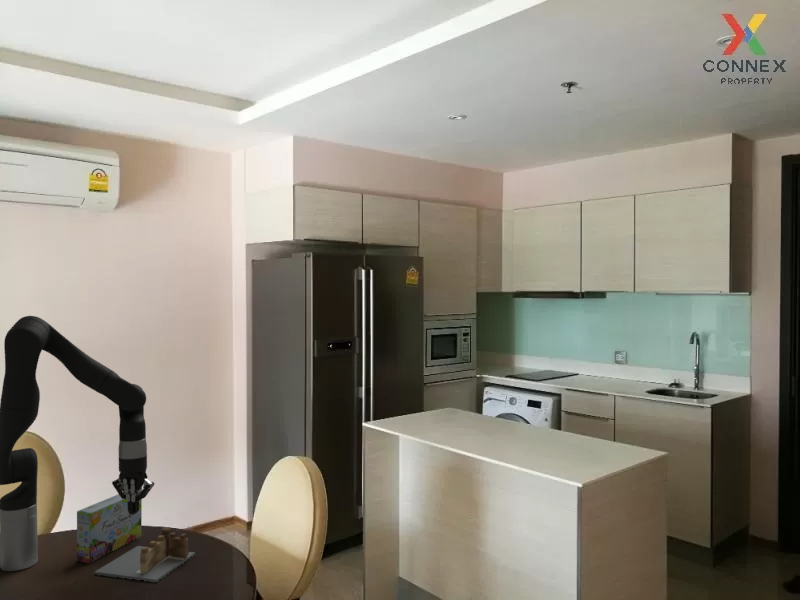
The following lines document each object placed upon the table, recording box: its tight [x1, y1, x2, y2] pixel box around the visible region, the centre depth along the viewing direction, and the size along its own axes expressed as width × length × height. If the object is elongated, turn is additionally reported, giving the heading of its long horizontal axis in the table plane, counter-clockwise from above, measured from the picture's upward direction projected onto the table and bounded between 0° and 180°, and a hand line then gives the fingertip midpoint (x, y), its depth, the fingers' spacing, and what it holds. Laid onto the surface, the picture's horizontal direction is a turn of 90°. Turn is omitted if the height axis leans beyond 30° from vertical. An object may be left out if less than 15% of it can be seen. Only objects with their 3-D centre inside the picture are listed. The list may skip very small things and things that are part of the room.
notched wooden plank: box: [160, 527, 190, 558], centre depth 183 cm, size 8×3×9 cm, turn 75°
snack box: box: [76, 492, 143, 564], centre depth 191 cm, size 21×6×15 cm, turn 162°
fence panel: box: [140, 534, 166, 573], centre depth 177 cm, size 11×2×6 cm, turn 170°
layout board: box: [94, 545, 196, 583], centre depth 180 cm, size 20×18×1 cm
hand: (133, 513), depth 180 cm, fingers closed
